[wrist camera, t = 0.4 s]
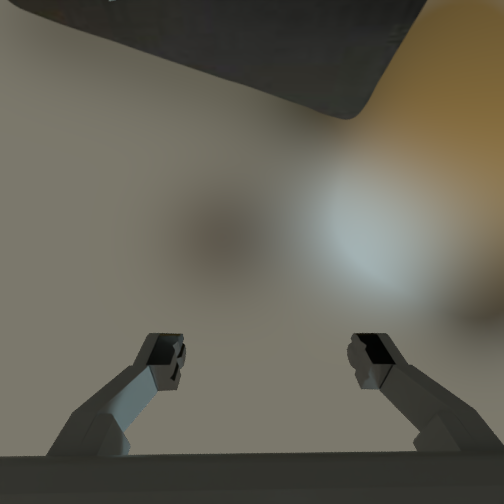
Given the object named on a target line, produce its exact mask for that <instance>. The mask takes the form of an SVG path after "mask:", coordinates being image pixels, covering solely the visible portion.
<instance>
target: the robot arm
mask: <svg viewBox="0 0 504 504" xmlns="http://www.w3.org/2000/svg"><path fill="white" fill-rule="evenodd" d="M183 340H184V337H183V334H172V333H171V334H169V333H149V335H147V337H146V339H145V341H144V343H143V345H142V347H141V349H140V351H139V353H138V356H137V357H136V359H135V362H134V364H133V366H128V367H127V368H126V369H125V370H123V371H122V372H121V373H120V374H119V375H117V376H116V377H115V378H114V379H112V380H111V381H110V382H109V383H108V384H106V385H105V386H104V387H103V388H102V389H100V390H99V391H98V392H97V393H96V394H94V395H93V396H92V397H91V398H90V399H88V400H87V401H86V402H85V403H83V404H82V405H81V406H80V407H79V408H78V409H76V410H75V411H74V412H73V413H72V414H71V416H70V418H69V419H68V421H67V422H66V424H65V426H64V427H63V429H62V430H61V432H60V434H59V436H58V437H57V439H56V440H55V442H54V443H53V445H52V447H51V448H50V450H49V452H48V453H47V455H46V456H18V457H17V456H14V457H13V456H12V457H0V504H504V445H503V444H502V443H501V441H500V440H499V439H498V437H497V436H496V435H495V434H494V433H493V431H492V430H491V429H490V428H489V426H488V425H487V424H486V423H485V421H484V420H483V419H482V418H481V416H480V415H479V414H478V413H477V411H476V410H475V409H473V408H472V407H470V406H469V405H468V404H466V403H465V402H464V401H462V400H461V399H459V398H458V397H456V396H455V395H454V394H452V393H451V392H450V391H448V390H447V389H445V388H444V387H442V386H441V385H440V384H438V383H437V382H435V381H434V380H432V379H431V378H430V377H428V376H427V375H425V374H424V373H423V372H421V371H420V370H418V369H417V368H416V367H414V366H413V365H408V363H407V362H406V360H405V359H404V357H403V356H402V355H401V353H400V351H399V350H398V348H397V347H396V346H395V344H394V343H393V341H392V340H391V338H390V337H389V336H388V335H387V334H386V333H354V334H353V335H352V337H351V340H352V343H350V344H349V345H348V349H347V355H348V359H349V362H350V364H351V366H352V367H353V368H355V369H356V372H355V376H356V378H357V381H358V383H359V385H360V387H361V389H380V391H381V392H382V393H383V394H384V395H385V396H386V397H387V398H388V399H389V400H390V401H391V402H392V403H393V404H394V405H395V407H396V408H398V410H399V411H401V413H402V414H403V415H404V416H405V417H406V418H407V419H408V420H409V421H410V422H411V423H412V424H413V425H414V426H415V427H416V428H417V429H418V430H419V431H420V433H419V434H418V436H417V437H416V438H415V439H414V442H413V444H414V446H415V448H416V449H417V451H399V452H323V453H322V452H320V453H240V454H168V455H167V454H163V455H128V452H129V449H130V444H129V442H128V440H127V438H126V437H125V435H124V433H123V432H124V431H125V430H126V429H127V428H128V426H129V425H130V424H131V423H132V422H133V421H134V419H135V418H136V417H137V416H138V415H139V413H140V412H141V411H142V410H143V408H145V406H146V405H147V404H148V403H149V402H150V400H151V399H152V398H153V397H154V396H155V394H156V393H157V391H163V390H177V388H178V384H179V380H180V377H181V374H180V369H181V368H182V367H183V366H184V361H185V355H186V348H185V345H184V344H183Z"/></svg>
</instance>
